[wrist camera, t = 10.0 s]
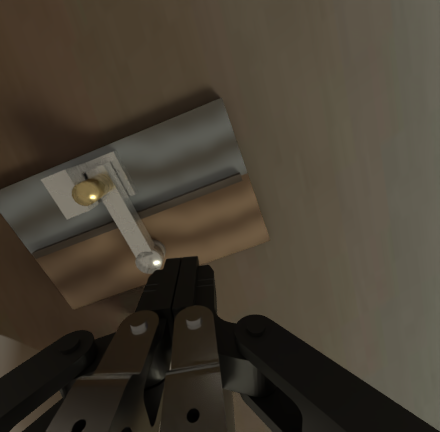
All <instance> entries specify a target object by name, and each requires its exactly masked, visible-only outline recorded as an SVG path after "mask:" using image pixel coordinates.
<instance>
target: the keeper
mask: <svg viewBox="0 0 440 432" xmlns="http://www.w3.org/2000/svg"><path fill="white" fill-rule="evenodd" d="M108 162H110V164H111V166H112V168H113V169H114V171H115V173H116V175H117V177H118V178H119V180H120V182H121V184H122V186H123V188H124V189H125V191H126V193H127V195H128V197H130V196H133V195H136V194H137V193H138V191H137V189H136V187H135V185H134V183H133V181H132V180H131V178H130V176H129V174H128V172H127V170H126V168H125V166H124V164H123V162H122V160H121V158H120V156H119V154H118V152H117V151H113V152H110V153H108V154H106V155H103V156H101V157H98V158H96V159H93V160H91V161H89V162H86V163H83V164H80V165H77V166H74V167H71V168H68V169H65V170H62V171H60V172H58V173H55V174H53V175H50V176H48V177H45V178H43V179H41V181H42V182H43V184H44V186H45V187H46V189H47V190H48V192H49V193H50V195H51V196H52V198H53V199H54V201H55V202H56V204H57V205H58V207H59V208H60V210H61V211H62V213H63V215H64V216H65V218H66V219H70V218H72V217H75V216H77V215H80V214H82V213H85V212H87V211H90V210H91V209H93V208H94V207H95V206H97V205H98V204H99V203H101V202H102V199H101V198H100V199H99V200H97V201H96V202H94V203H93V204H91V205H89V206H82V205H79V204H78V203H76V202H75V201H74V199H73V197H72V189H73V187H74V186H75V185H77V184H79V183H81V182H83V181H85V180H87V179H89V177H88V176H87V174H86V172H87V171H89V170H91V169H94V168H96V167H99V166H101V165H103V164H106V163H108Z"/></svg>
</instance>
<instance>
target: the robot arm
mask: <svg viewBox="0 0 440 432" xmlns="http://www.w3.org/2000/svg"><path fill="white" fill-rule="evenodd" d="M170 365H171V368H170ZM57 391H60V392H61V395H62V397H63V398H62V399H61V400H60V401H58V402H57V403H56V404H55V405H53V406H52V407H51V408H50V409H49V410H48V411H46V412H45V413H44V414H43V415H41V416H40V417H39V418H38V419H37V420H36V421H34V422H33V423H32V424H31V425H29V426H28V427H27V428H26V429H25V430H24V431H22V432H158V431H159V427H160V432H235V420H234V407H233V396H232V392H231V391H234V392H238V393H240V394H241V397H242V399H243V400H244V402H245V403H246V404H247V405H248V406H249V407H250V408H251V409H252V410H253V411H254V412H255V413H256V415H257V416H258V417H259V418H260V419H261V420H262V421H263V422H264V423H265V424H266V425H267V426H268V427H269V428H270V429H271V431H272V432H440V431H438V430H437V429H435V428H434V427H432V426H431V425H429V424H428V423H426V422H425V421H423V420H421V419H420V418H418V417H417V416H415V415H414V414H412V413H411V412H409V411H408V410H406V409H405V408H403V407H402V406H400V405H399V404H397V403H396V402H394V401H393V400H391V399H390V398H388V397H387V396H385V395H384V394H382V393H381V392H379V391H378V390H376V389H375V388H373V387H372V386H370V385H369V384H367V383H366V382H364V381H363V380H361V379H360V378H358V377H357V376H355V375H354V374H352V373H351V372H349V371H348V370H346V369H345V368H343V367H342V366H340V365H339V364H337V363H336V362H334V361H333V360H331V359H330V358H328V357H326V356H325V355H323V354H322V353H320V352H319V351H317V350H316V349H314V348H313V347H311V346H310V345H308V344H307V343H305V342H304V341H302V340H301V339H299V338H298V337H296V336H295V335H293V334H292V333H290V332H289V331H287V330H286V329H284V328H283V327H281V326H280V325H278V324H277V323H275V322H274V321H272V320H271V319H269V318H267V317H265V316H262V315H248V316H245V317H243V318H242V319H240V320H239V321H238V322H237V324H236V323H231V322H227V321H224V320H222V319H221V318H220V317H218V315H217V300H216V289H215V280H214V271H213V269H212V268H211V267H210V266H209V265H204V266H199V259H198V256H190V257H183V258H182V257H180V258H169V259H166V261H165V264H164V267H163V269H162V270H155V271H154V272H153V273H152V274H151V275H150V276H149V278H148V280H147V283H146V286H145V288H144V292H143V293H142V296H141V298H140V301H139V303H138V306H137V309H136V311H135V313H133V314H131V315H129V316H128V317H126V318H125V319H124V320H123V321H122V322H121V324H120V326H119V328H118V329H117V331H116V332H115V333H113V334H110V335H107V336H104V337H101V338H98V339H95V340H94V337H93V334H92V333H91V332H89V331H85V330H80V331H75V332H72V333H69V334H67V335H65V336H63V337H62V338H60V339H59V340H57V341H56V342H54V343H53V344H51V345H49V346H48V347H46V348H45V349H43V350H42V351H40V352H39V353H37V354H36V355H34V356H33V357H31V358H30V359H29V360H27V361H25V362H24V363H22V364H21V365H19V366H18V367H16V368H15V369H13V370H12V371H10V372H9V373H7V374H6V375H4V376H3V377H1V378H0V432H9V431H10V430H11V429H12V428H13V427H14V426H15V425H16V424H18V423H19V422H20V421H21V420H23V419H24V418H25V417H26V416H27V415H29V414H30V413H31V412H32V411H34V410H35V409H36V408H37V407H39V406H40V405H41V404H42V403H44V402H45V401H46V400H47V399H49V398H50V397H51V396H52V395H54V394H55V393H56V392H57ZM160 422H161V424H160Z"/></svg>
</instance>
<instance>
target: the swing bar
mask: <svg viewBox="0 0 440 432" xmlns="http://www.w3.org/2000/svg"><path fill="white" fill-rule="evenodd" d="M86 174H87V176H88V177H89V179H87V180H85V181H83V182H81V183H79V184H77V185H75V186H74V187H73V189H72V197H73V199H74V201H75V202H76V203H78V204H79V205H82V206H89V205H91V204H93V203H94V202H96V201H97V200H99V199H100V198H101V199H102V201H103V203H104V204H105V206H106V208H107V210H108V211H109V213H110V215H111V216H112V218H113V220H114V221H115V223H116V225H117V226H118V228H119V230H120V231H121V233H122V235H123V236H124V238H125V240H126V242H127V243H128V245H129V247H130V248H131V250H132V252H133V253H134V255H135V257H136V260H135V263H136V266H137V268H138V269H139V270H140V271H141V272H143V273H146V274H152V273H153V272H154V271H155V270H160V268H161V266H162V263H163V260H164V252H163V251H162V249H161V248H160V247H158V246H156V245H155V244H154V242H153V240H152V239H151V237H150V235H149V233H148V231H147V229H146V228H145V226H144V224H143V222H142V220H141V219H140V217H139V215H138V213H137V211H136V209H135V208H134V206H133V204H132V202H131V200H130V199H129V197H128V195H127V193H126V191H125V189H124V188H123V186H122V184H121V182H120V180H119V178H118V177H117V175H116V173H115V171H114V169H113V168H112V166H111V164H110V162H108V163H106V164H103V165H101V166H99V167H96V168H94V169H91V170H89V171H87V172H86Z"/></svg>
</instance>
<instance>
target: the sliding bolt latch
mask: <svg viewBox="0 0 440 432" xmlns="http://www.w3.org/2000/svg"><path fill="white" fill-rule="evenodd" d="M113 151H117V152H118V154H119V156H120V158H121V160H122V162H123V164H124V166H125V168H126V170H127V172H128V174H129V176H130V178H131V180H132V181H133V183H134V185H135V187H136V189H137V191H138V193H137V194H136V195H133V196H130V197H129V199H130V200H131V202H132V204H133V206H134V208H135V209H136V211H137V213H138V215H139V217H140V219H141V220H142V222H143V224H144V226H145V228H146V229H147V231H148V233H149V235H150V237H151V239H152V240H153V242H154V244H155V245H156V246H158V247H160V248H161V249H162V251H163V252H164V260H163V263H162V266H161V268H160V270H162V269H163V267H164V264H165V261H166V259H169V258H180V257H182V258H183V257H190V256H198V259H199V265H202V264H205V263H208V262H210V261H213V260H216V259H219V258H222V257H225V256H228V255H230V254H233V253H236V252H239V251H242V250H245V249H247V248H250V247H253V246H256V245H259V244H262V243H265V242H267V241H270V238H269V235H268V232H267V229H266V226H265V223H264V220H263V217H262V214H261V211H260V208H259V205H258V202H257V199H256V197H255V194H254V191H253V188H252V185H251V182H250V179H249V176H248V173H247V170H246V167H245V164H244V161H243V158H242V155H241V152H240V150H239V147H238V144H237V141H236V138H235V135H234V132H233V129H232V126H231V123H230V120H229V117H228V114H227V111H226V108H225V105H224V103H223V100H222V98H220V99H217V100H215V101H212V102H210V103H207V104H205V105H203V106H200V107H198V108H195V109H193V110H191V111H188V112H186V113H183V114H181V115H179V116H176V117H174V118H171V119H169V120H166V121H164V122H162V123H159V124H157V125H154V126H152V127H150V128H147V129H145V130H142V131H140V132H138V133H135V134H133V135H130V136H128V137H125V138H123V139H121V140H118V141H116V142H113V143H111V144H109V145H106V146H104V147H101V148H99V149H97V150H94V151H92V152H89V153H87V154H85V155H82V156H80V157H77V158H75V159H72V160H70V161H68V162H65V163H63V164H60V165H58V166H56V167H53V168H51V169H48V170H46V171H44V172H41V173H39V174H36V175H34V176H31V177H29V178H27V179H24V180H22V181H19V182H17V183H15V184H12V185H10V186H7V187H5V188H3V189H0V213H1V214H2V216H3V217H4V218H5V220H6V221H7V222H8V224H9V225H10V226H11V228H12V229H13V230H14V232H15V233H16V234H17V236H18V237H19V238H20V240H21V241H22V242H23V244H24V245H25V246H26V248H27V249H28V250H29V251H30V253H31V254H32V255H33V257H34V258H35V259H36V261H37V262H38V263H39V265H40V266H41V267H42V269H43V270H44V271H45V273H46V274H47V275H48V277H49V278H50V279H51V281H52V282H53V283H54V285H55V286H56V287H57V289H58V290H59V291H60V293H61V294H62V295H63V297H64V298H65V299H66V301H67V302H68V303H69V305H70V306H71V307H72V309H73V310H74V309H77V308H80V307H82V306H85V305H88V304H91V303H94V302H97V301H99V300H102V299H105V298H108V297H111V296H114V295H117V294H119V293H122V292H125V291H128V290H131V289H134V288H136V287H139V286H142V285H145V284H146V283H147V280H148V278H149V276H150V275H151V274H146V273H143V272H141V271H140V270H139V269H138V268H137V266H136V263H135V260H136V257H135V255H134V253H133V252H132V250H131V248H130V247H129V245H128V243H127V242H126V240H125V238H124V236H123V235H122V233H121V231H120V230H119V228H118V226H117V225H116V223H115V221H114V220H113V218H112V216H111V215H110V213H109V211H108V210H107V208H106V206H105V204H104V203H103V201H102V202H101V203H99V204H98V205H97V206H95V207H94V208H93V209H91V210H90V211H87V212H85V213H82V214H80V215H77V216H75V217H72V218H70V219H66V218H65V216H64V215H63V213H62V211H61V210H60V208H59V207H58V205H57V204H56V202H55V201H54V199H53V198H52V196H51V195H50V193H49V192H48V190H47V189H46V187H45V186H44V184H43V182H42V181H41V179H43V178H45V177H48V176H50V175H53V174H55V173H58V172H60V171H62V170H65V169H68V168H71V167H74V166H77V165H80V164H83V163H86V162H89V161H91V160H93V159H96V158H98V157H101V156H103V155H106V154H108V153H110V152H113Z"/></svg>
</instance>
